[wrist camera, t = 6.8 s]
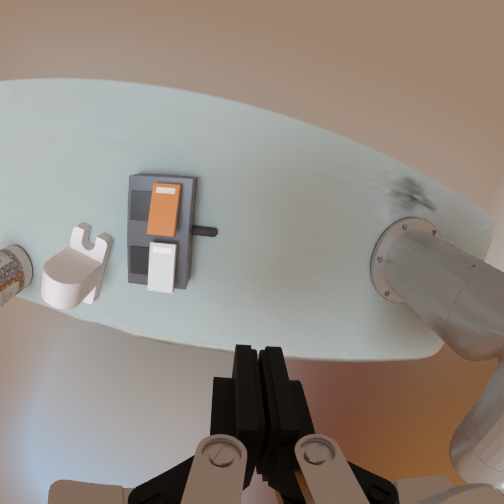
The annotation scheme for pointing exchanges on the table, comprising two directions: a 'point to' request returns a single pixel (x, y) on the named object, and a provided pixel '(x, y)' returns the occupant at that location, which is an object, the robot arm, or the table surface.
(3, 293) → the bath foam
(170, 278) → the rocker grey
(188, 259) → the rocker switch box
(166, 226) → the rocker orange
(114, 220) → the table surface
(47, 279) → the cable organizer
